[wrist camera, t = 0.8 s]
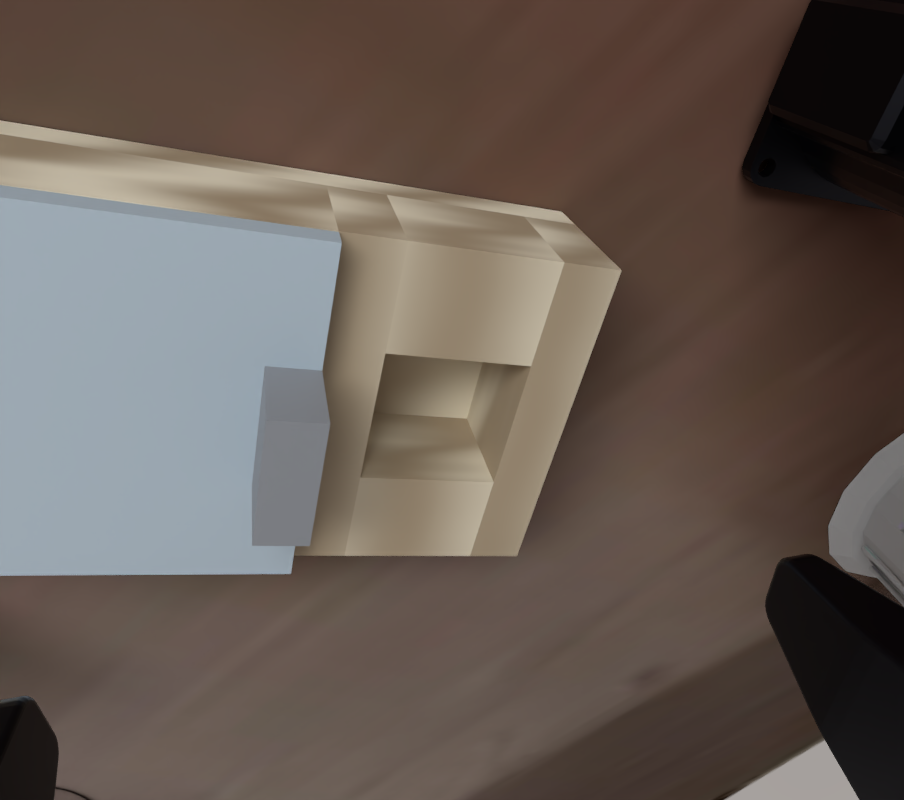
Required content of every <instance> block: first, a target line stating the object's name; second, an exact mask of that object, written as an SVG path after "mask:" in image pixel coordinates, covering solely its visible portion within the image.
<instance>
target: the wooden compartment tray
mask: <svg viewBox="0 0 904 800" xmlns="http://www.w3.org/2000/svg"><path fill="white" fill-rule="evenodd" d="M0 185H3V186H11V187H18V188H25V189H32V190H39V191H47V192H54V193H61V194H68V195H76V196H83V197H90V198H97V199H104V200H112V201H119V202H126V203H133V204H140V205H148V206H155V207H162V208H169V209H177V210H184V211H191V212H198V213H205V214H213V215H220V216H227V217H234V218H241V219H249V220H256V221H263V222H270V223H278V224H285V225H292V226H299V227H306V228H314V229H321V230H328V231H335V232H339V234H340V238H341V242H342V246H341V252H340V259H339V265H338V272H337V278H336V285H335V291H334V298H333V304H332V310H331V317H330V323H329V330H328V336H327V343H326V349H325V356H324V362H323V369H322V372H323V379H324V386H325V392H326V399H327V405H328V412H329V419H330V429H329V435H328V441H327V447H326V453H325V459H324V465H323V471H322V477H321V482H320V488H319V494H318V500H317V506H316V512H315V518H314V524H313V530H312V536H311V542H310V546H295V550H294V556H517V554H518V552H519V549H520V546H521V544H522V541H523V538H524V535H525V533H526V530H527V527H528V524H529V522H530V519H531V516H532V514H533V511H534V508H535V505H536V503H537V500H538V497H539V494H540V492H541V489H542V486H543V484H544V481H545V478H546V475H547V473H548V470H549V467H550V464H551V462H552V459H553V456H554V454H555V451H556V448H557V445H558V443H559V440H560V437H561V434H562V432H563V429H564V426H565V424H566V421H567V418H568V415H569V413H570V410H571V407H572V404H573V402H574V399H575V396H576V394H577V391H578V388H579V385H580V383H581V380H582V377H583V374H584V372H585V369H586V366H587V364H588V361H589V358H590V355H591V353H592V350H593V347H594V344H595V342H596V339H597V336H598V334H599V331H600V328H601V325H602V323H603V320H604V317H605V314H606V312H607V309H608V306H609V304H610V301H611V298H612V295H613V293H614V290H615V287H616V284H617V282H618V279H619V276H620V274H621V271H622V270H621V269H620V268H619V267H618V266H617V265H616V264H615V263H614V262H613V261H612V260H610V259H609V258H608V257H607V256H606V255H605V254H604V253H603V252H602V251H601V250H600V249H599V248H598V247H597V246H596V245H595V244H594V243H593V242H592V241H591V240H590V239H589V238H588V237H587V236H586V235H585V234H584V233H583V232H582V231H581V230H580V229H579V228H578V227H577V226H576V225H575V224H574V223H573V222H572V221H571V220H570V219H569V218H568V217H567V216H566V215H565V214H564V213H562V212H561V211H555V210H548V209H542V208H536V207H530V206H524V205H518V204H511V203H505V202H499V201H493V200H487V199H481V198H475V197H468V196H462V195H456V194H450V193H444V192H438V191H431V190H425V189H419V188H413V187H407V186H401V185H395V184H388V183H382V182H376V181H370V180H364V179H358V178H351V177H345V176H339V175H333V174H327V173H321V172H315V171H308V170H302V169H296V168H290V167H284V166H278V165H271V164H265V163H259V162H253V161H247V160H241V159H235V158H228V157H222V156H216V155H210V154H204V153H198V152H191V151H185V150H179V149H173V148H167V147H161V146H154V145H148V144H142V143H136V142H130V141H124V140H118V139H111V138H105V137H99V136H93V135H87V134H81V133H74V132H68V131H62V130H56V129H50V128H44V127H38V126H31V125H25V124H19V123H13V122H7V121H1V120H0Z"/></svg>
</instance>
